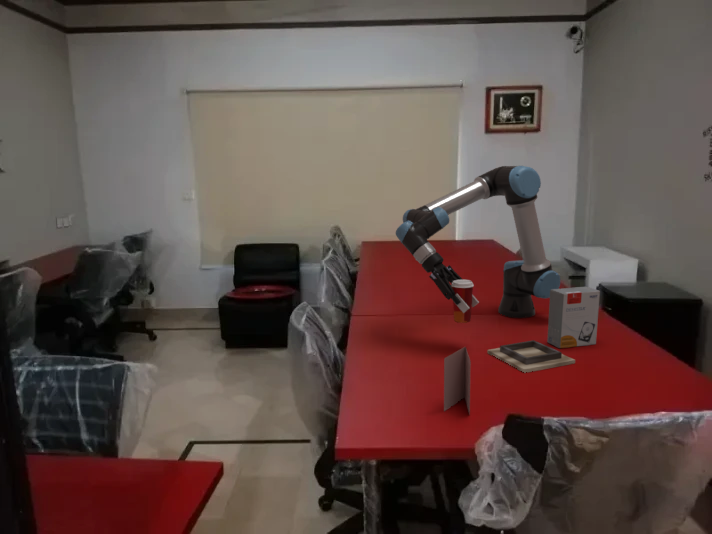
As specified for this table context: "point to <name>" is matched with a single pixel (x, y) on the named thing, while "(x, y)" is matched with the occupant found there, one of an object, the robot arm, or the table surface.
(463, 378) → the greeting card
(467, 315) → the paper cup
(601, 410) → the table surface
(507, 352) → the seat plate
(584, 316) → the hard drive box
